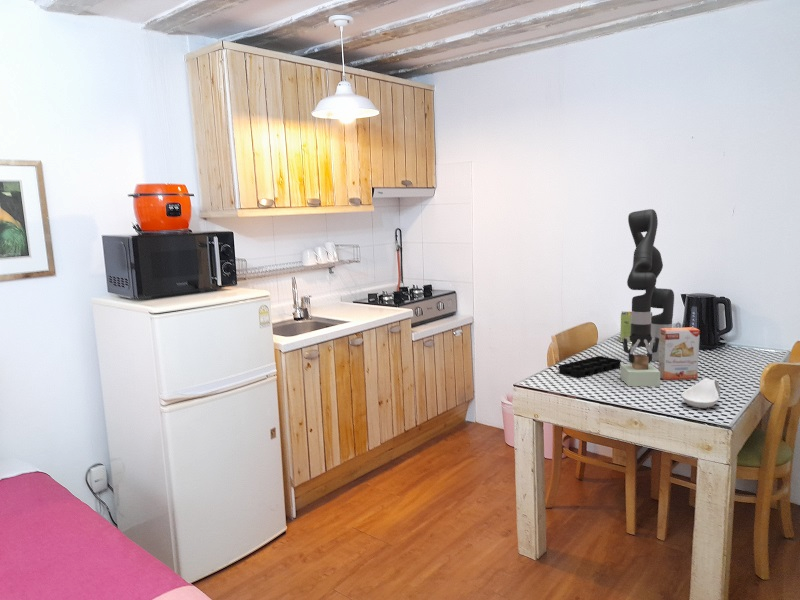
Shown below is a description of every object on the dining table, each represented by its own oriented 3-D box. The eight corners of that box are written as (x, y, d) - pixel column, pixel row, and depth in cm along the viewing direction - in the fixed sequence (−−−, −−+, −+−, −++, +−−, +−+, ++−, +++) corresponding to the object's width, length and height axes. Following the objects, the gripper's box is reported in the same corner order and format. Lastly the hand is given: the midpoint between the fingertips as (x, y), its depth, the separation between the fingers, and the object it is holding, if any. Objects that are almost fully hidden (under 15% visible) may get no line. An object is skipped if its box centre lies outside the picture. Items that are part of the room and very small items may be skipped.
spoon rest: (713, 413, 195) (714, 393, 194) (676, 407, 202) (677, 387, 201) (729, 396, 212) (730, 377, 211) (695, 390, 220) (696, 372, 219)
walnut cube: (644, 366, 234) (644, 354, 233) (648, 369, 229) (648, 357, 228) (631, 366, 234) (632, 354, 234) (635, 369, 229) (635, 357, 229)
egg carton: (554, 374, 249) (554, 366, 249) (588, 361, 270) (588, 353, 269) (591, 382, 237) (591, 373, 236) (624, 367, 257) (624, 359, 257)
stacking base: (650, 378, 238) (650, 364, 237) (659, 386, 226) (660, 371, 225) (620, 378, 239) (620, 364, 238) (628, 386, 227) (628, 372, 226)
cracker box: (664, 380, 233) (665, 330, 230) (657, 376, 239) (658, 327, 236) (698, 379, 233) (700, 329, 230) (691, 375, 239) (692, 326, 236)
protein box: (651, 344, 296) (652, 315, 294) (620, 343, 302) (620, 314, 300) (651, 340, 306) (652, 311, 303) (620, 338, 312) (621, 310, 309)
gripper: (656, 319, 232) (655, 360, 234) (619, 320, 233) (619, 360, 236) (662, 323, 224) (661, 364, 227) (624, 324, 226) (624, 365, 228)
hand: (640, 362), depth 231 cm, fingers open, 6 cm apart
